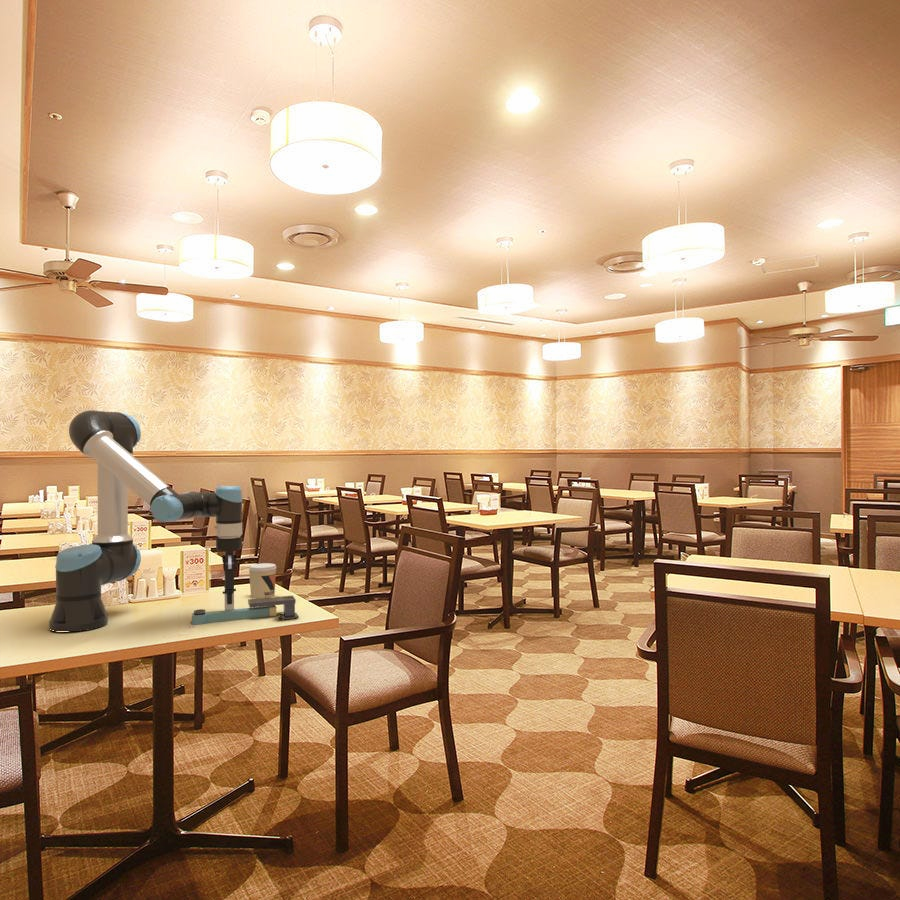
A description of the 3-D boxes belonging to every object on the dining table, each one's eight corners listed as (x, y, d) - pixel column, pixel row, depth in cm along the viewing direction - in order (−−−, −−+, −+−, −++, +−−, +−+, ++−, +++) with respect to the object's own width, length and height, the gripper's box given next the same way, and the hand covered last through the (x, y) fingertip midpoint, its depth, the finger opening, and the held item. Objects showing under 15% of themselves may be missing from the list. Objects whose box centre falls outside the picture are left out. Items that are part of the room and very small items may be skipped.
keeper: (249, 624, 192) (249, 603, 192) (248, 619, 198) (248, 599, 198) (298, 619, 198) (298, 599, 198) (295, 614, 203) (295, 595, 203)
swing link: (192, 624, 187) (192, 616, 187) (192, 621, 190) (192, 612, 191) (276, 615, 197) (276, 607, 197) (274, 612, 200) (274, 604, 200)
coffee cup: (266, 603, 219) (266, 568, 219) (243, 601, 222) (243, 566, 222) (281, 597, 227) (281, 563, 228) (259, 595, 231) (259, 562, 231)
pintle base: (184, 633, 183) (184, 616, 183) (178, 625, 191) (178, 609, 191) (221, 628, 188) (221, 611, 188) (213, 620, 196) (213, 605, 196)
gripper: (215, 534, 200) (216, 610, 200) (216, 540, 188) (216, 620, 188) (241, 533, 202) (241, 608, 203) (243, 538, 190) (243, 618, 190)
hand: (229, 614), depth 195 cm, fingers closed
